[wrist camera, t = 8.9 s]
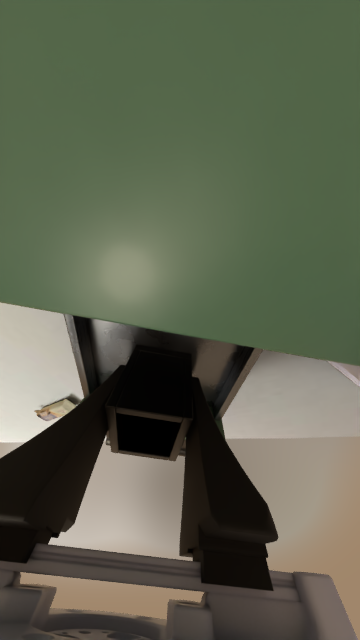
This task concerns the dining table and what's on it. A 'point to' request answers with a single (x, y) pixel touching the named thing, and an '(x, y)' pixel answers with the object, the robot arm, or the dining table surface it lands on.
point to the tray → (120, 340)
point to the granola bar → (55, 410)
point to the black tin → (151, 404)
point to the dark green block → (185, 167)
